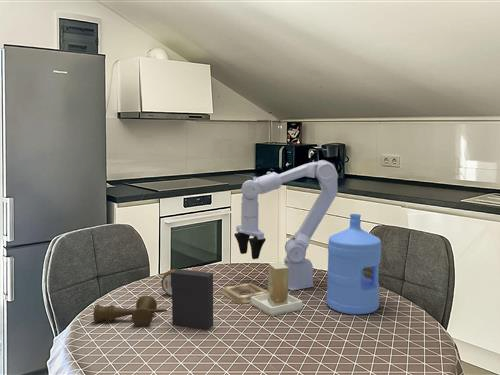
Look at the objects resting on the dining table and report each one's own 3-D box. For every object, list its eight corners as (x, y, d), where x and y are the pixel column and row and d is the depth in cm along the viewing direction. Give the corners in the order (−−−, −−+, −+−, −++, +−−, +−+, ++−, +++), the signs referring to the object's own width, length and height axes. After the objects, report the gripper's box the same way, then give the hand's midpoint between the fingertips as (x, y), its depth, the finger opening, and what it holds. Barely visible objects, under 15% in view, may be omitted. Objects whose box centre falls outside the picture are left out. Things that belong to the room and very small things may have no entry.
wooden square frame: (250, 288, 167) (250, 282, 167) (269, 298, 158) (269, 292, 158) (221, 294, 162) (221, 288, 161) (239, 304, 152) (239, 298, 152)
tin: (209, 295, 160) (208, 269, 159) (207, 298, 157) (207, 272, 156) (163, 293, 162) (162, 268, 161) (160, 296, 159) (160, 271, 158)
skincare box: (267, 301, 153) (267, 262, 151) (280, 300, 154) (281, 261, 152) (274, 309, 147) (275, 268, 145) (288, 307, 148) (289, 267, 146)
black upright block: (214, 325, 136) (214, 272, 134) (208, 331, 132) (207, 276, 130) (178, 320, 140) (177, 268, 138) (171, 325, 136) (170, 272, 134)
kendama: (99, 316, 144) (169, 313, 145) (90, 331, 134) (165, 327, 135) (97, 297, 143) (168, 293, 144) (89, 310, 133) (164, 306, 134)
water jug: (323, 312, 146) (325, 218, 143) (329, 295, 161) (331, 209, 158) (378, 318, 142) (382, 221, 139) (379, 299, 157) (383, 212, 154)
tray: (280, 298, 158) (280, 290, 158) (302, 309, 149) (302, 301, 148) (250, 304, 152) (250, 296, 152) (271, 316, 143) (271, 308, 142)
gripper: (228, 213, 171) (228, 252, 173) (251, 221, 159) (250, 262, 160) (246, 212, 175) (246, 250, 176) (269, 219, 162) (268, 259, 164)
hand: (249, 256), depth 169 cm, fingers open, 7 cm apart
